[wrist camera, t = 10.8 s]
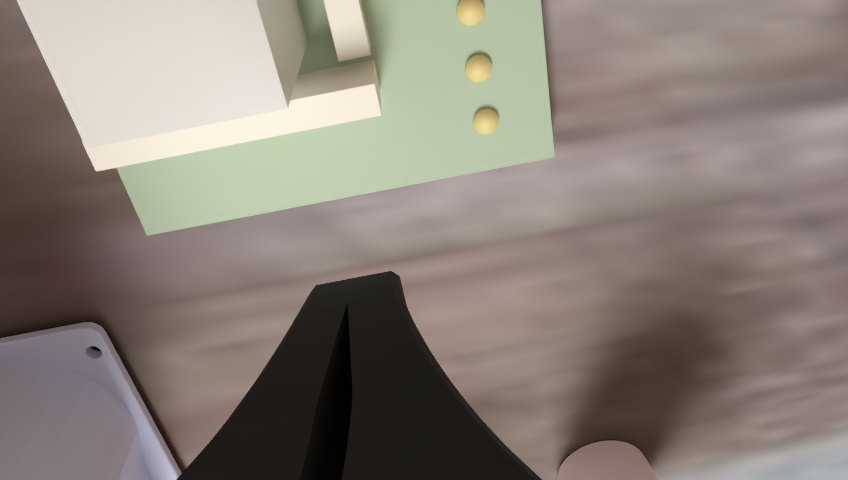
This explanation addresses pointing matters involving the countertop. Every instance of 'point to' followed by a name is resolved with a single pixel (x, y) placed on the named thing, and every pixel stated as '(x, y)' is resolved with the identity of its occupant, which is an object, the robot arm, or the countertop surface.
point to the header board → (359, 114)
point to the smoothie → (606, 463)
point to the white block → (167, 61)
